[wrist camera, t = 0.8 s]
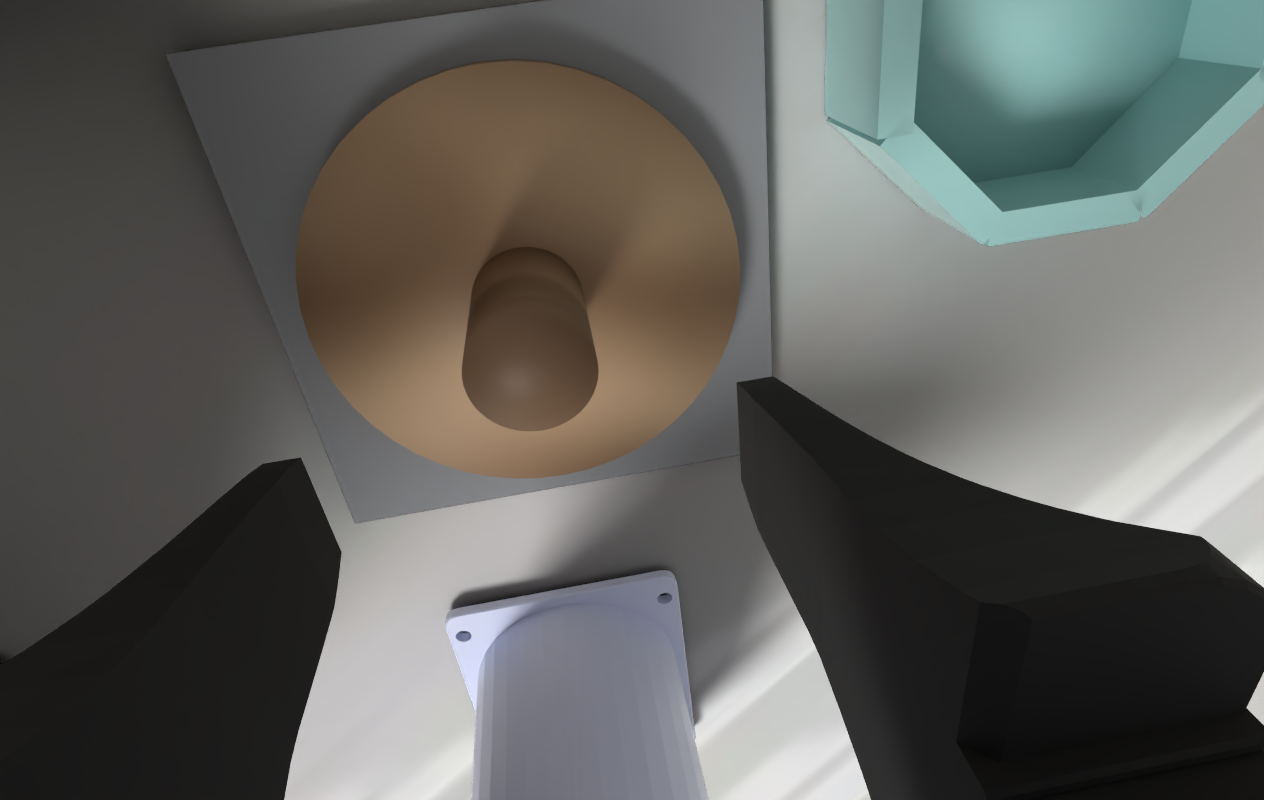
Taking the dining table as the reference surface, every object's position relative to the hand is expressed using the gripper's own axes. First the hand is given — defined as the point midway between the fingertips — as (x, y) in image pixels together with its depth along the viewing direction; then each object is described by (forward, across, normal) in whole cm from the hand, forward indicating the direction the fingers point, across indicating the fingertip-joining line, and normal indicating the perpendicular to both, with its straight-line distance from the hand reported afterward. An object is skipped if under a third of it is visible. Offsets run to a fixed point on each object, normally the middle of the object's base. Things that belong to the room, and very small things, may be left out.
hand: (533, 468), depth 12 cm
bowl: (+9, -13, -5) cm, 16 cm away
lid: (+8, 0, 0) cm, 8 cm away
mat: (+9, 0, 0) cm, 9 cm away
